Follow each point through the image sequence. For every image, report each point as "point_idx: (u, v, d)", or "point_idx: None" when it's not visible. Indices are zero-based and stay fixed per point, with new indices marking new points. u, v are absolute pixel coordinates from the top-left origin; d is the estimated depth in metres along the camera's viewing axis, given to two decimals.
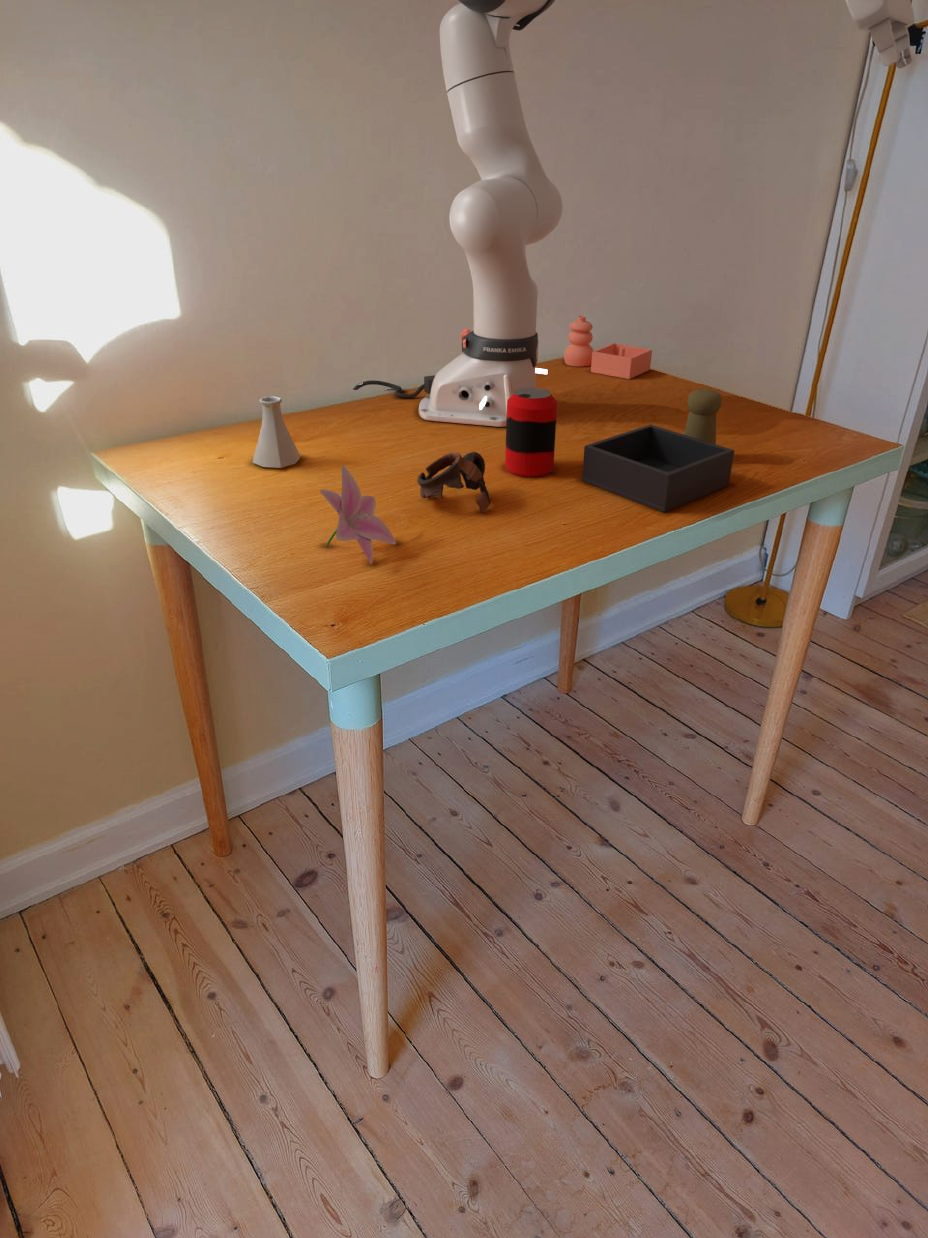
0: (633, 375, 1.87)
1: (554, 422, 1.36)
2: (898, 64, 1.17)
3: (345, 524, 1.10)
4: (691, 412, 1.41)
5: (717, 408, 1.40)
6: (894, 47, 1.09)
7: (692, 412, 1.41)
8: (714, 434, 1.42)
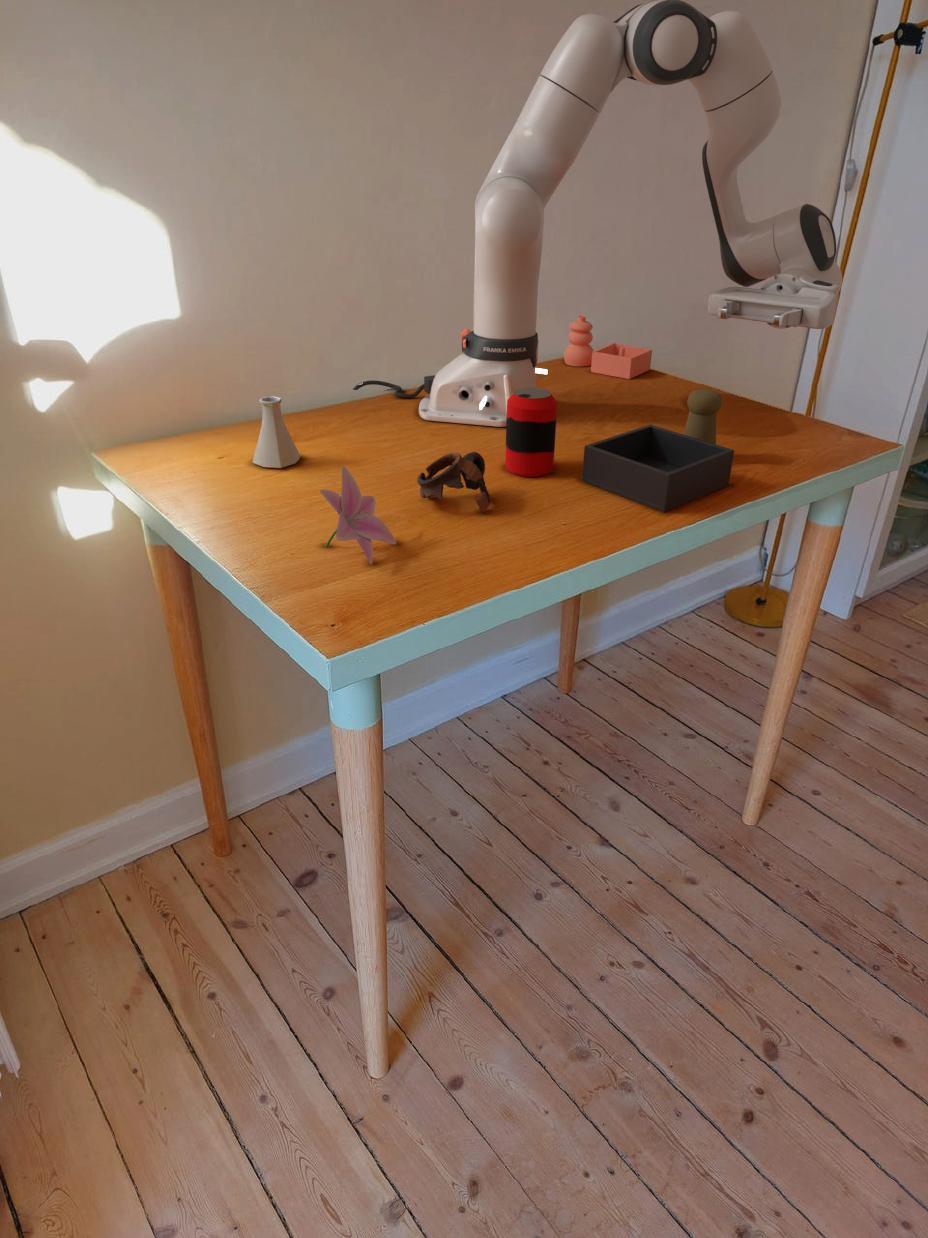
0: (633, 375, 1.87)
1: (554, 422, 1.36)
2: (728, 309, 1.46)
3: (345, 524, 1.10)
4: (691, 412, 1.41)
5: (717, 408, 1.40)
6: (785, 324, 1.42)
7: (692, 412, 1.41)
8: (714, 434, 1.42)
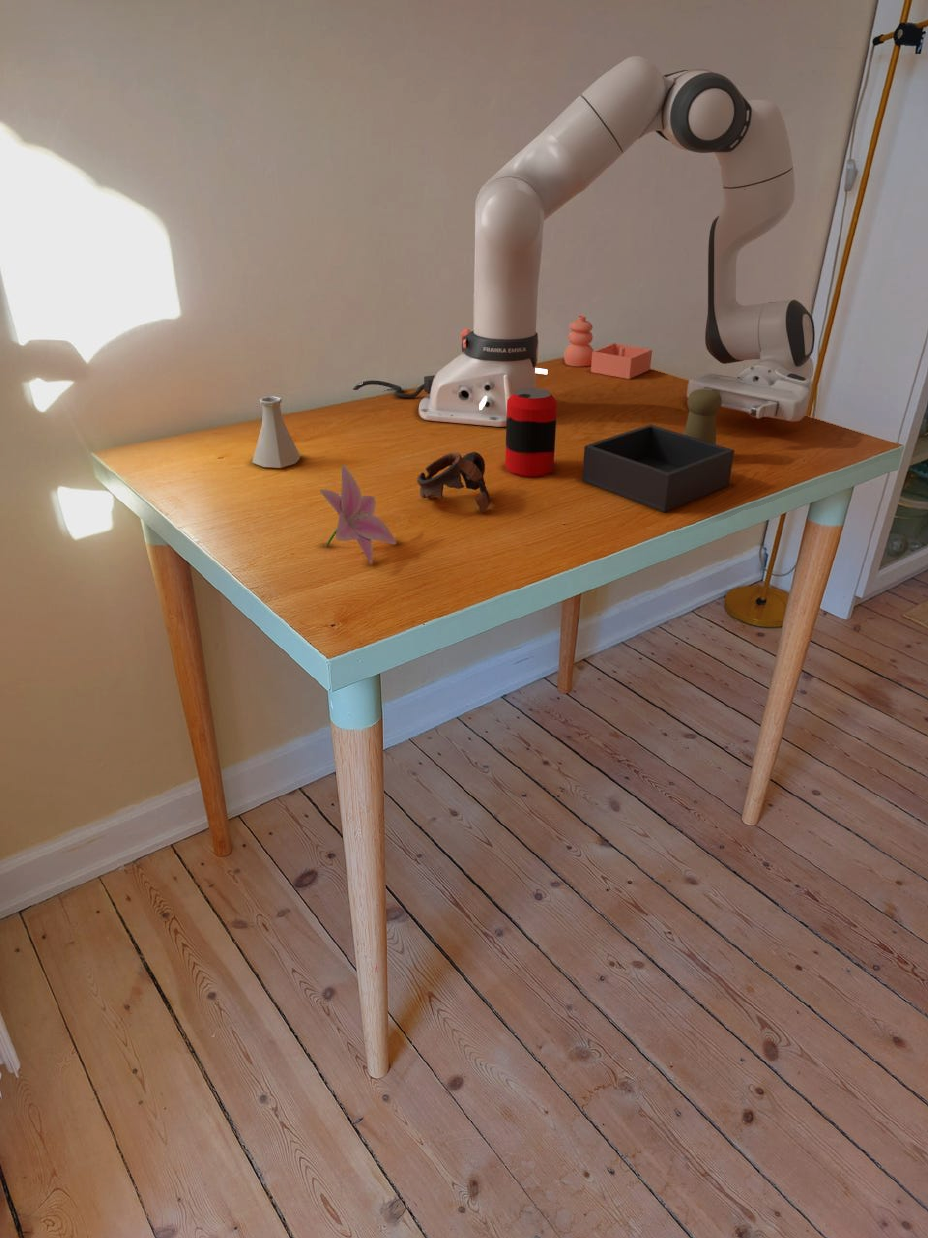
0: (633, 375, 1.87)
1: (554, 422, 1.36)
2: None
3: (345, 524, 1.10)
4: (691, 412, 1.41)
5: (717, 408, 1.40)
6: (762, 416, 1.48)
7: (692, 412, 1.41)
8: (714, 434, 1.42)
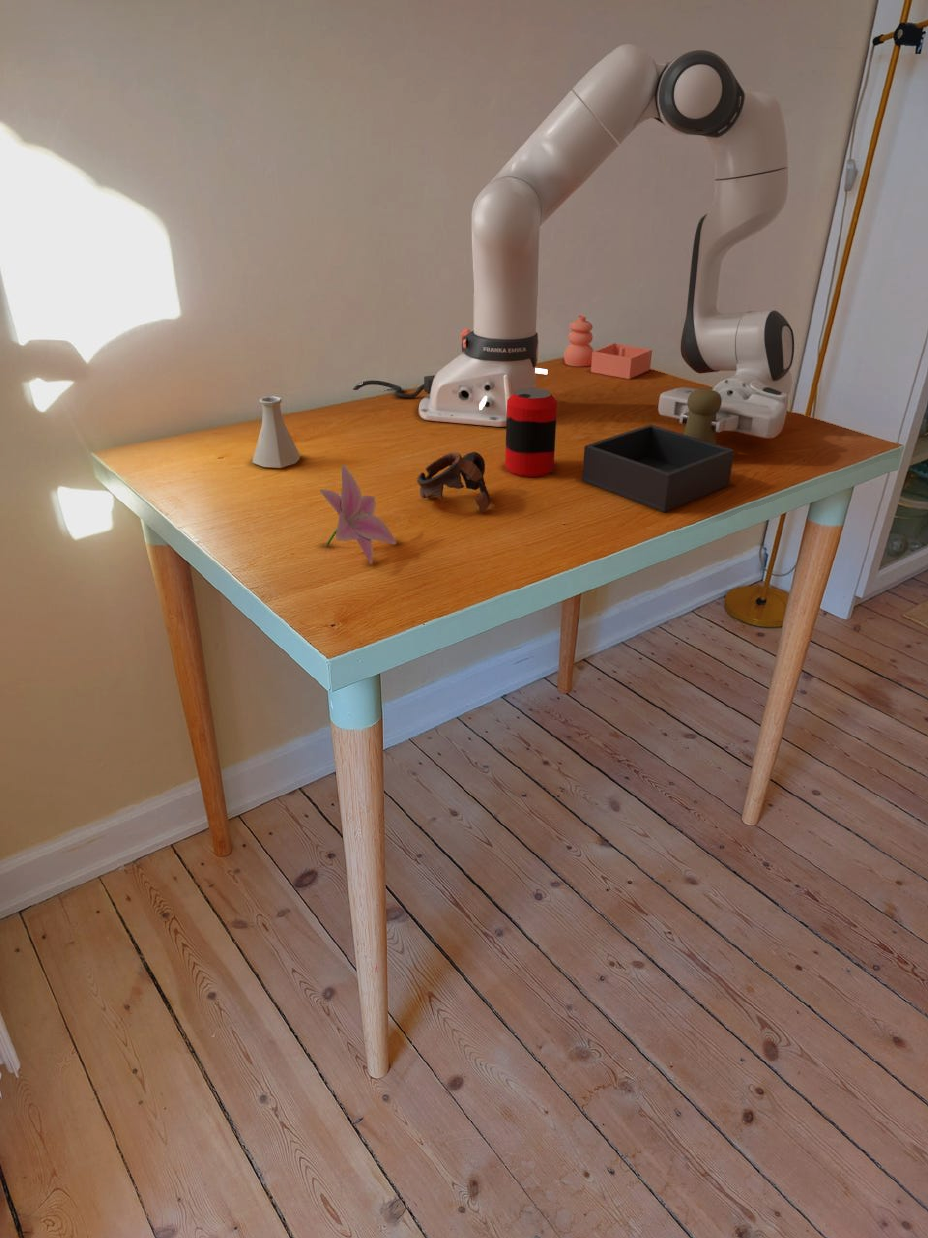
0: (633, 375, 1.87)
1: (554, 422, 1.36)
2: None
3: (345, 524, 1.10)
4: (691, 412, 1.41)
5: (717, 408, 1.40)
6: (722, 430, 1.42)
7: (692, 412, 1.41)
8: (714, 434, 1.42)
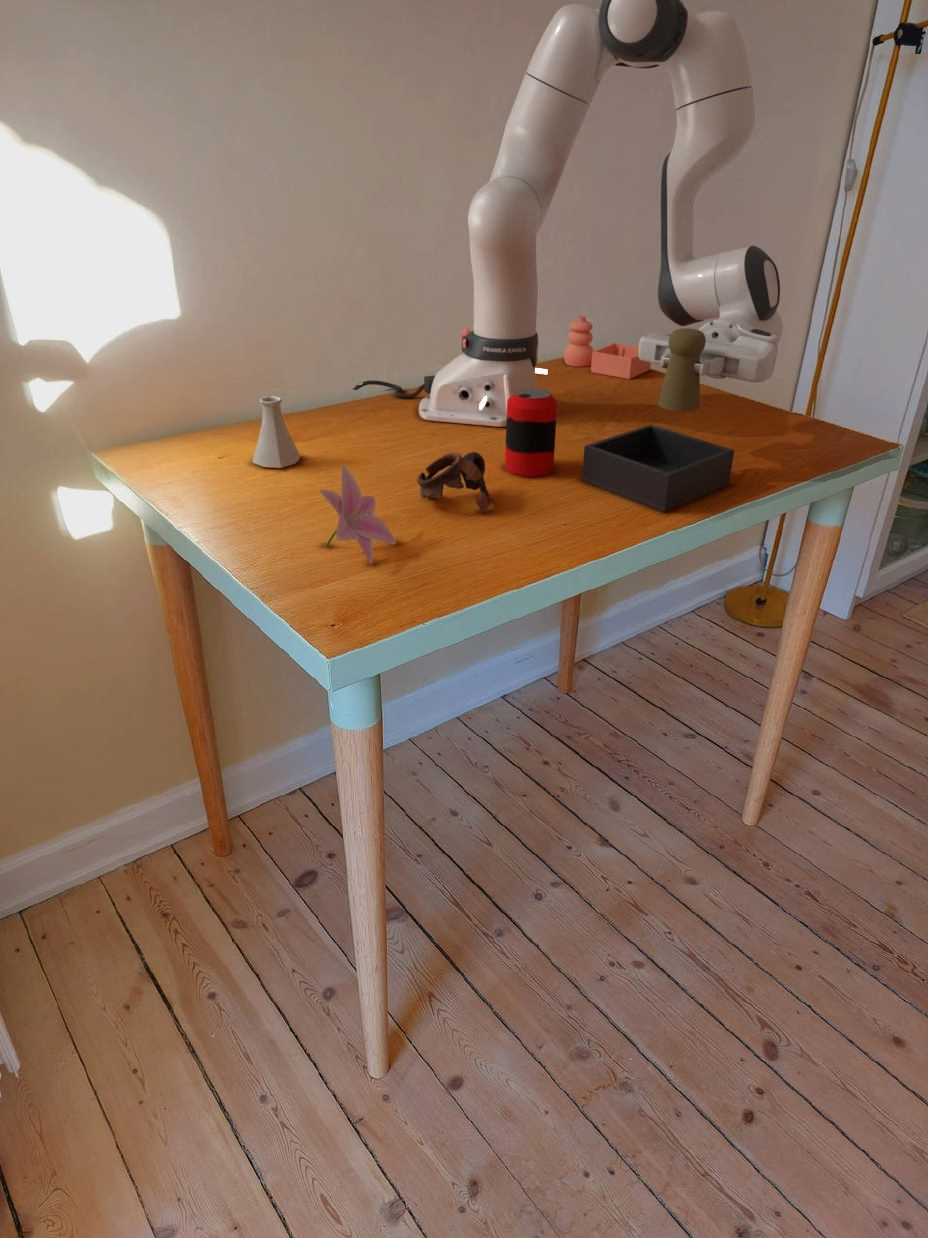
0: (633, 375, 1.87)
1: (554, 422, 1.36)
2: None
3: (345, 524, 1.10)
4: (673, 353, 1.30)
5: (701, 348, 1.28)
6: (706, 373, 1.30)
7: (673, 353, 1.30)
8: (698, 378, 1.31)
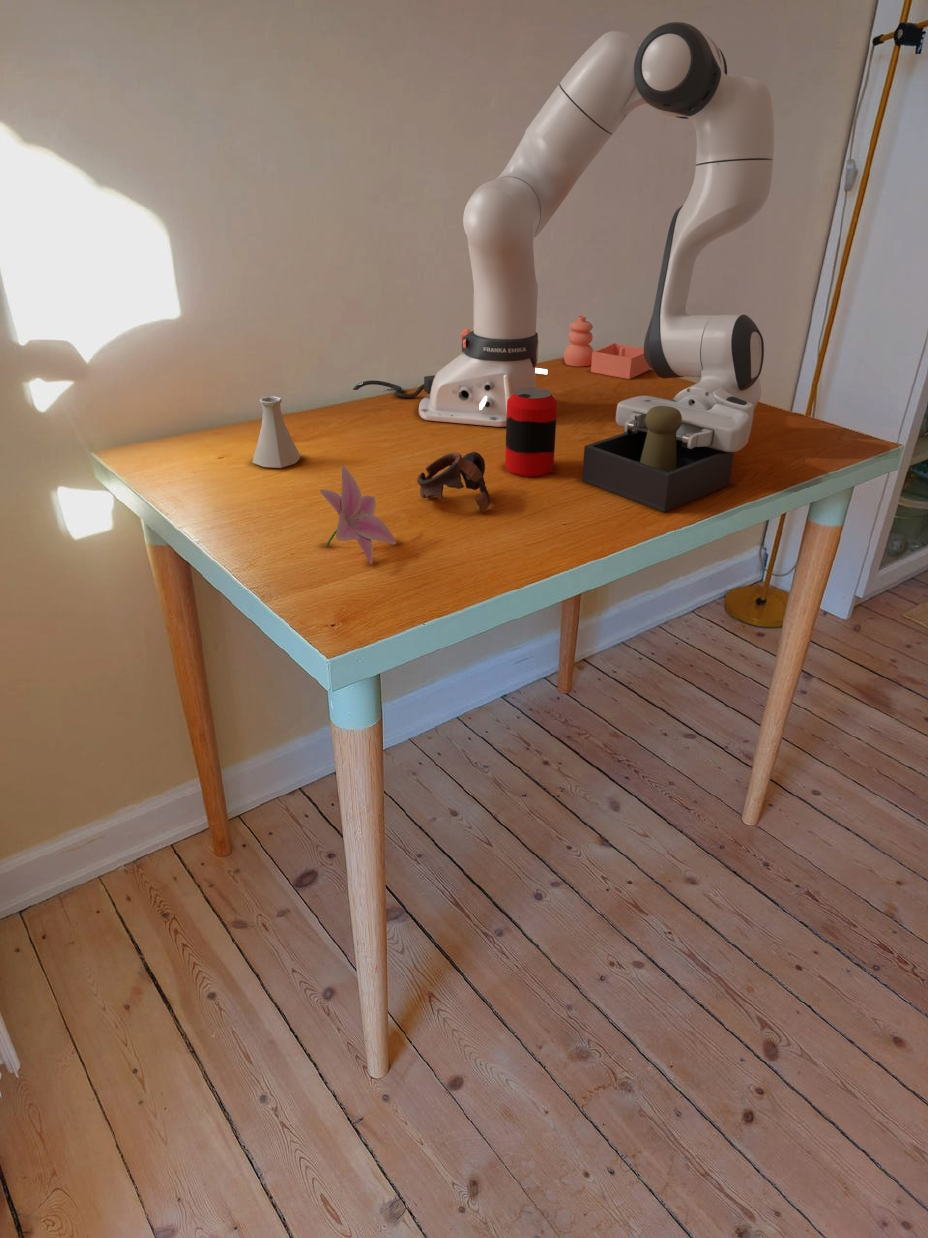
0: (633, 375, 1.87)
1: (554, 422, 1.36)
2: (635, 424, 1.34)
3: (345, 524, 1.10)
4: (649, 430, 1.31)
5: (677, 426, 1.30)
6: (694, 446, 1.30)
7: (650, 431, 1.31)
8: (674, 454, 1.33)
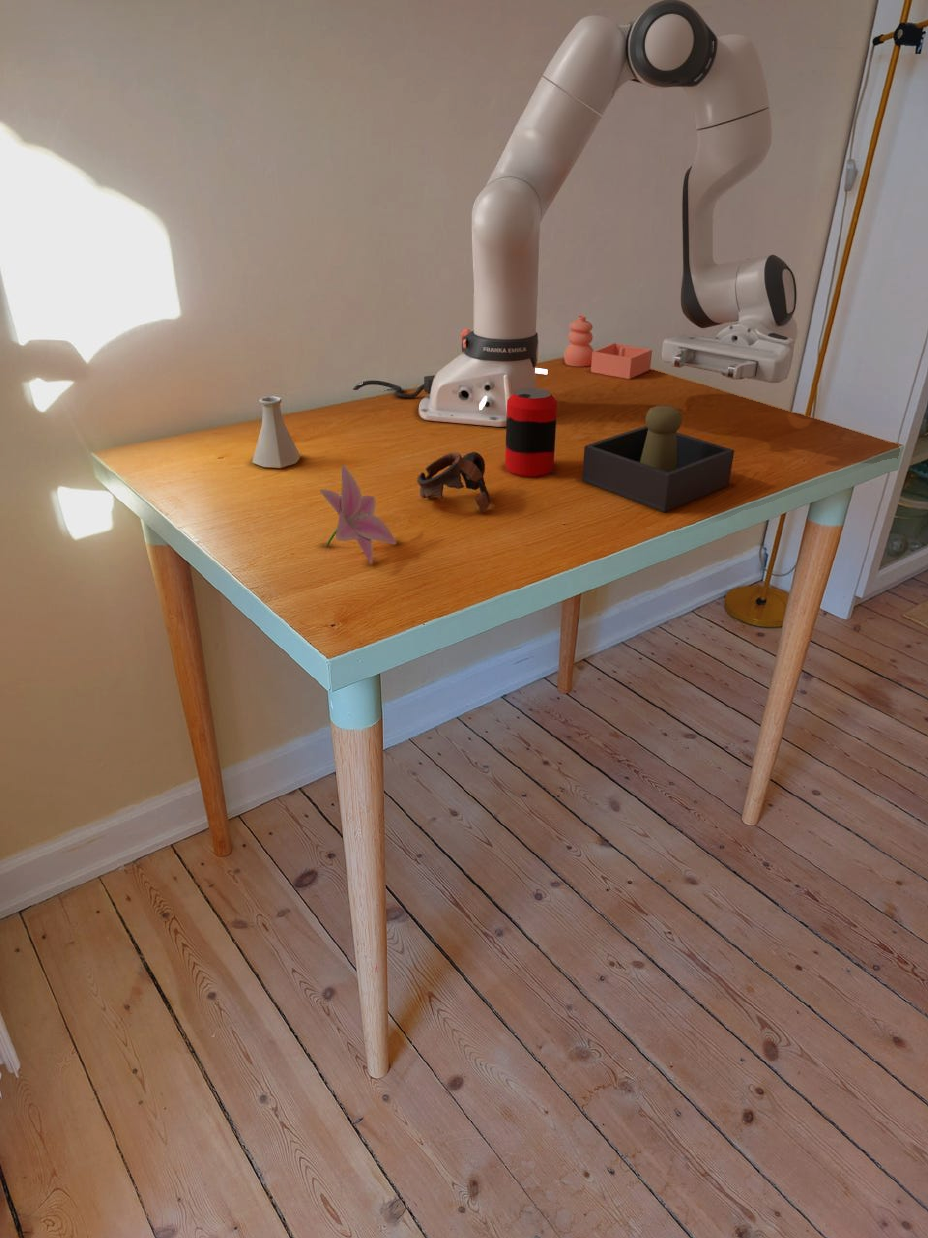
0: (633, 375, 1.87)
1: (554, 422, 1.36)
2: (682, 357, 1.41)
3: (345, 524, 1.10)
4: (649, 430, 1.32)
5: (677, 426, 1.30)
6: (739, 376, 1.38)
7: (650, 431, 1.31)
8: (674, 454, 1.33)
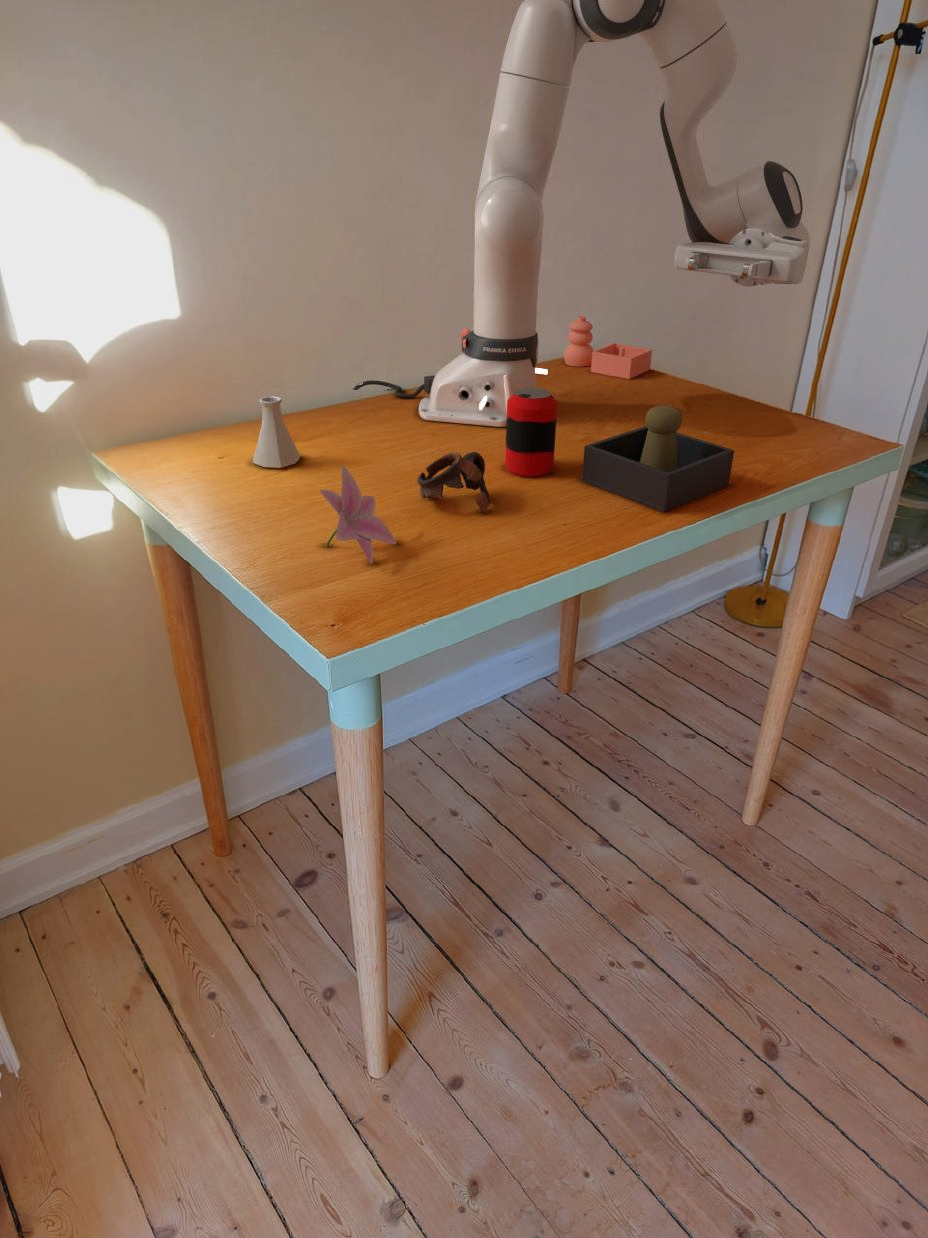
0: (633, 375, 1.87)
1: (554, 422, 1.36)
2: (695, 259, 1.40)
3: (345, 524, 1.10)
4: (649, 430, 1.32)
5: (677, 426, 1.30)
6: (754, 275, 1.36)
7: (650, 431, 1.31)
8: (674, 454, 1.33)
